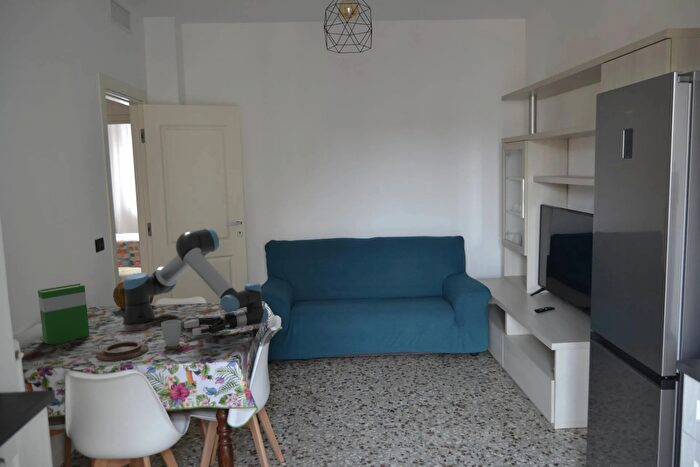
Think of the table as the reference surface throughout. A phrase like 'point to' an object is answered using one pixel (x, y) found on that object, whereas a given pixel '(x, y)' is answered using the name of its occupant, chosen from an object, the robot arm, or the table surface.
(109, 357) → the round tray
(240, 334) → the table surface
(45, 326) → the hardback book
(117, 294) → the decorative pumpkin
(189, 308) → the table surface
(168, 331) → the cup
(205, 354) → the table surface
